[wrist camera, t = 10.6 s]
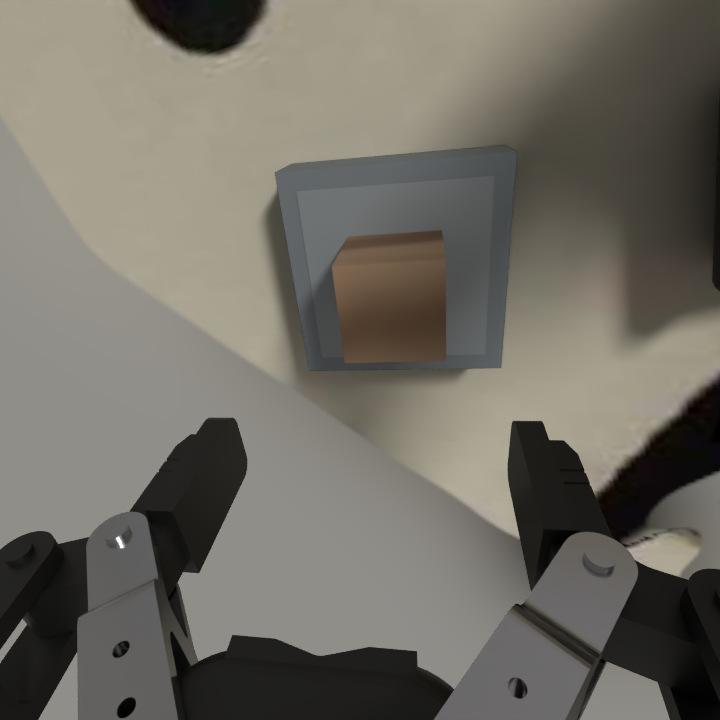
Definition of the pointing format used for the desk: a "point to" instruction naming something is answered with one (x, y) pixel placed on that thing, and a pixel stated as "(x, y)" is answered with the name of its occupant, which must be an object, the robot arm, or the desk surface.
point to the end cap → (717, 220)
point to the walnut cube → (392, 297)
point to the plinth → (403, 215)
